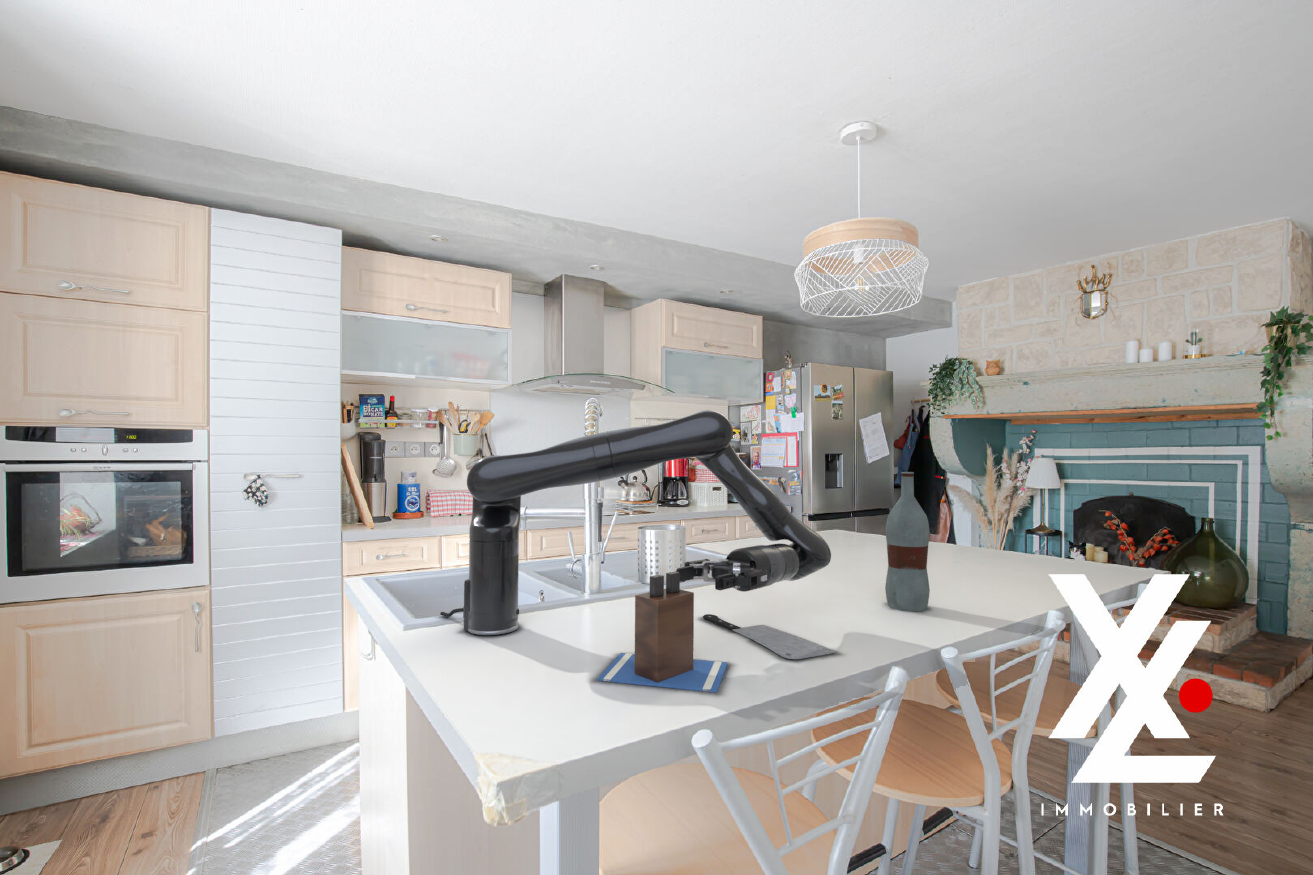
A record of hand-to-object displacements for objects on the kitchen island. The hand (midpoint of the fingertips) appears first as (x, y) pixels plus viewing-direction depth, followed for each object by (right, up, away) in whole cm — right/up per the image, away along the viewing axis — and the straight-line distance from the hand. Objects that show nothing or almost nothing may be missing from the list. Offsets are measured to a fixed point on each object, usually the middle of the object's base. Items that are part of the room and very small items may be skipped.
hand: (696, 579), depth 103 cm
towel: (-5, -13, -5) cm, 15 cm away
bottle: (+49, -15, +37) cm, 64 cm away
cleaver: (+13, -14, +15) cm, 25 cm away
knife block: (-5, -13, -6) cm, 15 cm away
